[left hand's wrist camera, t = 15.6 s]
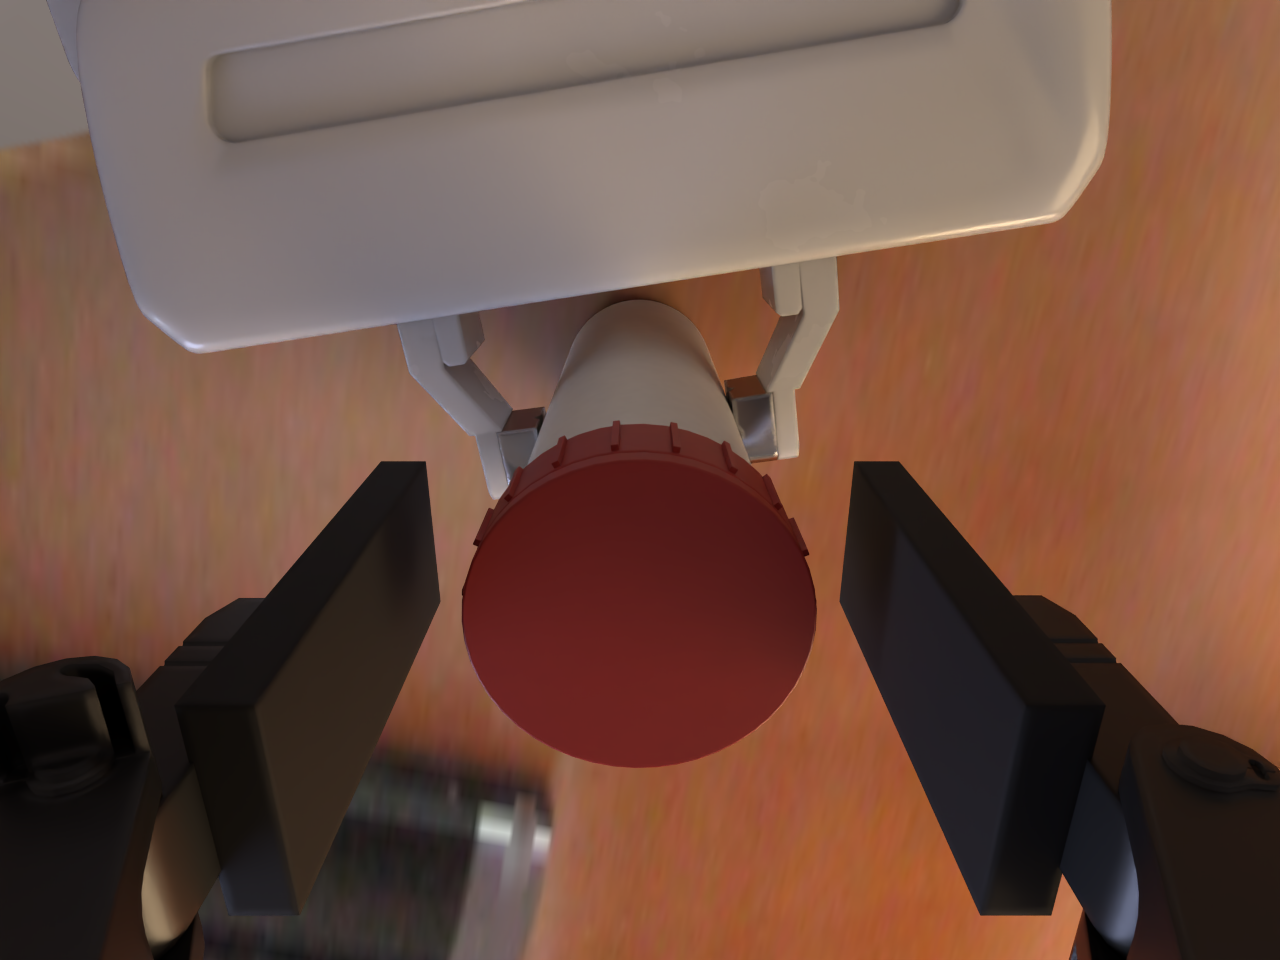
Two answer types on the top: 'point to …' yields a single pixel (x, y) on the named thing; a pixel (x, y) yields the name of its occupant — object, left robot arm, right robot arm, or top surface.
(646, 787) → the top surface
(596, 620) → the lid
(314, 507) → the top surface
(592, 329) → the screw-top jar
